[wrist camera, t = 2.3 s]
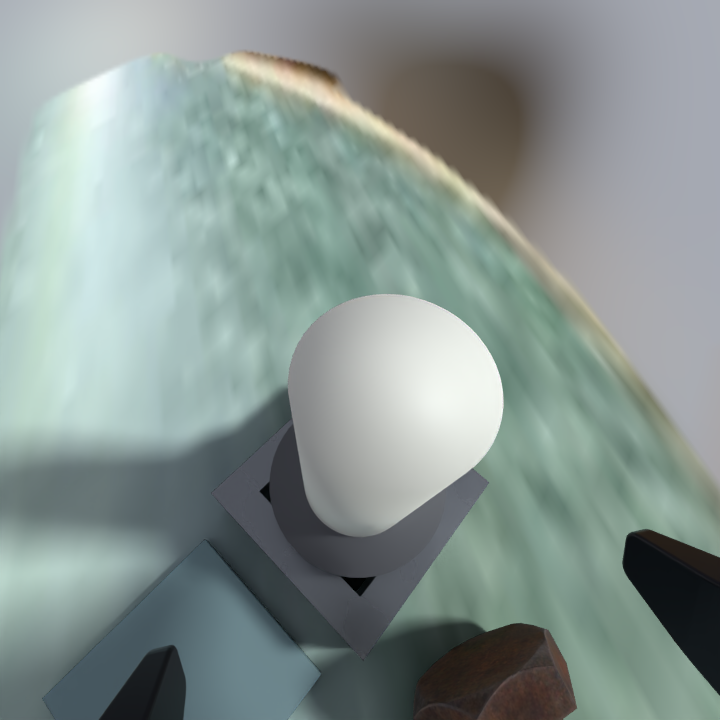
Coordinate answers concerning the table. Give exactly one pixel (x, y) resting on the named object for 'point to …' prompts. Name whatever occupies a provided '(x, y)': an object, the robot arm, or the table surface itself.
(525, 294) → the table surface
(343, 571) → the pin
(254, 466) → the block
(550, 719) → the bolt
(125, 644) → the mat
